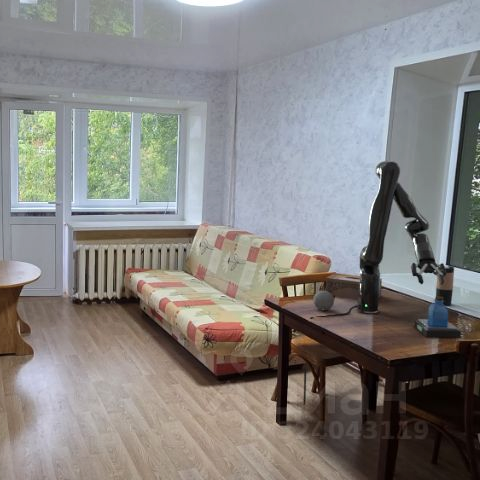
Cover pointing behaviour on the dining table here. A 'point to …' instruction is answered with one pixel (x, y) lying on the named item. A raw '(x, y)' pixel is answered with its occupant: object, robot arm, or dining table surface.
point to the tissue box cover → (345, 285)
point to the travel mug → (446, 286)
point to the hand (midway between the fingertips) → (432, 283)
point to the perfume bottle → (438, 313)
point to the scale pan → (433, 327)
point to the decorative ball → (323, 300)
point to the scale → (437, 331)
